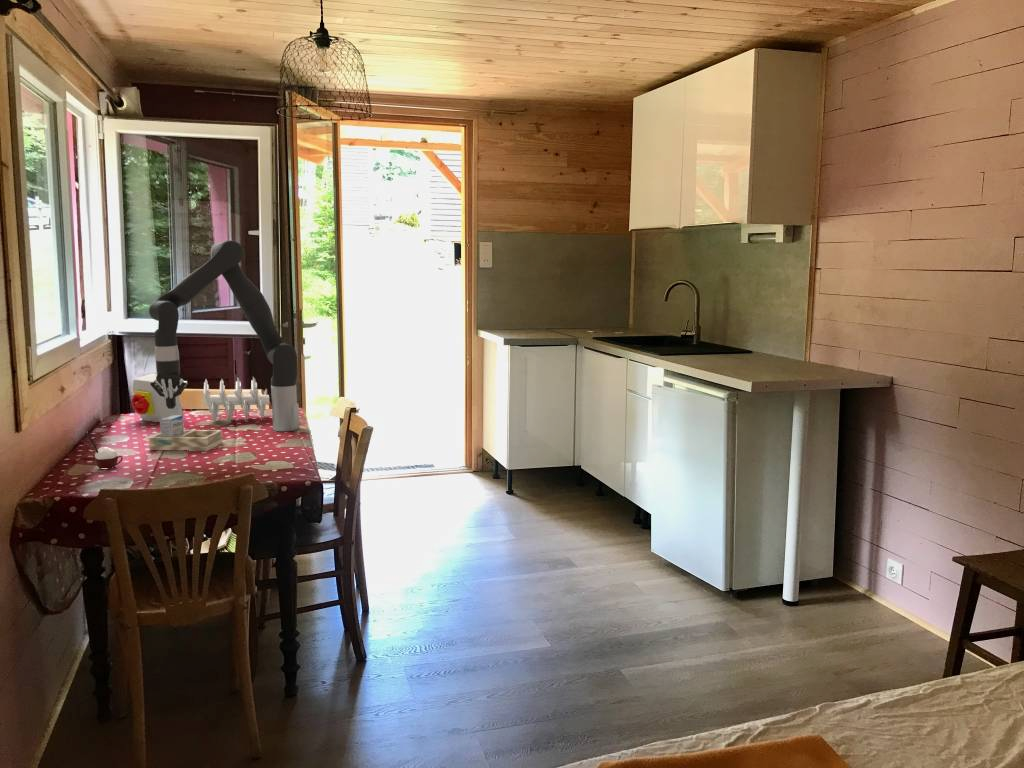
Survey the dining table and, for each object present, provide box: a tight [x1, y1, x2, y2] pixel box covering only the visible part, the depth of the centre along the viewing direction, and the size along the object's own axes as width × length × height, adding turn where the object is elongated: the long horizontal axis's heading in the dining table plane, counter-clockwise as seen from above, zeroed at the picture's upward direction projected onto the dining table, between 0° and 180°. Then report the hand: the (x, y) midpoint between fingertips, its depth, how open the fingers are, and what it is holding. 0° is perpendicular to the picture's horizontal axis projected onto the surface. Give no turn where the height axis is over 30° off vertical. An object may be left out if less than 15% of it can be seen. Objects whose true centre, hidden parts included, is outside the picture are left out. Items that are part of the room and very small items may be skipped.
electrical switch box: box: [131, 372, 184, 423], centre depth 323 cm, size 15×15×20 cm
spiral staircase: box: [203, 376, 270, 424], centre depth 324 cm, size 18×18×25 cm
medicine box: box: [159, 415, 185, 437], centre depth 280 cm, size 8×4×9 cm, turn 173°
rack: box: [148, 429, 223, 452], centre depth 280 cm, size 20×13×4 cm, turn 87°
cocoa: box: [85, 431, 124, 469], centre depth 250 cm, size 10×6×12 cm, turn 104°
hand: (171, 408), depth 278 cm, fingers closed
